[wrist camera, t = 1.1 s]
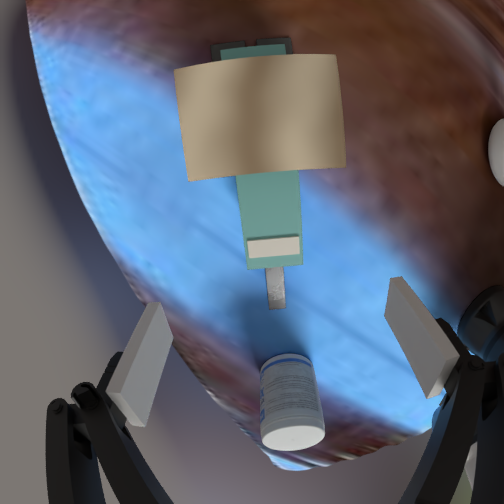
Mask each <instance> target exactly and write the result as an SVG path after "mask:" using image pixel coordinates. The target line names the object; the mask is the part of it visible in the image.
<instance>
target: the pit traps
mask: <svg viewBox="0 0 504 504" xmlns="http://www.w3.org/2000/svg"><path fill="white" fill-rule="evenodd" d="M256 41H257V46H261V45H276V44H285V50H286V55H290V54H293V51H292V44H291V38H269V39H256ZM210 46H211V55H212V62H217V61H222V60H221V52H220V50H225V49H232V48H240V47H245V41H237V42H229V43H222V44H216V45H210Z"/></svg>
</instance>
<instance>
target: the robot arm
mask: <svg viewBox="0 0 504 504" xmlns="http://www.w3.org/2000/svg"><path fill="white" fill-rule="evenodd" d="M384 317H385V319H386V320H387V322H388V324H389V326H390V327H391V329H392V331H393V333H394V335H395V337H396V339H397V340H398V342H399V344H400V346H401V348H402V350H403V352H404V354H405V356H406V358H407V360H408V361H409V363H410V365H411V367H412V369H413V371H414V373H415V375H416V378H417V380H418V382H419V384H420V386H421V388H422V390H423V392H424V394H425V396H426V399H429V398H431V397H434V396H437V395H440V393H441V391H442V389H443V387H444V388H445V390H446V392H447V393H446V394H445V396H444V398H443V399H442V401H441V403H440V404H439V405H440V407H438V408H437V409H436V410H435V412H434V414H433V418H432V430H433V432H432V434H431V437H430V439H429V442H428V445H427V447H426V449H425V451H424V454H423V456H422V458H421V460H420V462H419V465H418V467H417V469H416V471H415V473H414V475H413V477H412V479H411V481H410V483H409V485H408V487H407V489H406V490H405V492H404V494H403V496H402V497H401V499H400V501H399V503H398V504H450V502H451V499H452V497H453V495H454V492H455V490H456V488H457V485H458V482H459V480H460V477H461V475H462V472H463V469H464V467H465V470H466V472H467V476H468V479H469V481H470V484H471V487H472V497H471V503H470V504H504V288H503V287H502V286H492V287H490V288H488V289H487V290H485V291H484V292H482V293H481V294H480V295H479V296H478V297H477V298H476V299H475V300H474V301H473V302H472V304H471V305H470V306H469V308H468V309H467V310H466V312H465V314H464V315H463V317H462V319H461V322H460V324H459V327H458V336H457V334H456V333H455V332H454V331H453V329H452V327H451V326H450V325H449V323H447V322H446V321H445V320H443V319H442V318H439V319H434V318H433V316H432V315H431V314H430V312H429V311H428V310H427V308H426V307H425V306H424V304H423V303H422V302H421V300H420V299H419V298H418V296H417V295H416V294H415V293H414V291H413V290H412V289H411V287H410V286H409V285H408V284H407V282H406V281H405V280H404V279H403V277H402V276H401V277H394V278H390V284H389V290H388V297H387V303H386V309H385V314H384ZM172 340H173V336H172V333H171V330H170V328H169V325H168V322H167V319H166V317H165V314H164V311H163V308H162V305H161V303H160V302H151V303H148V305H147V307H146V308H145V311H144V313H143V314H142V316H141V318H140V320H139V322H138V324H137V326H136V328H135V330H134V332H133V334H132V336H131V338H130V340H129V342H128V344H127V346H126V348H125V350H124V352H117V353H116V354H115V355H114V356H113V357H112V358H111V359H110V361H109V363H108V366H107V367H106V369H105V373H103V375H102V377H101V380H100V382H99V384H98V386H97V388H95V387H94V386H93V384H91V383H89V382H83V383H80V384H78V385H77V386H75V388H74V389H73V390H72V393H71V398H72V400H73V401H74V402H75V403H76V404H68V403H67V402H66V401H65V400H64V399H62V398H57V399H55V400H53V401H52V402H51V403H50V404H49V405H48V408H47V420H46V477H47V490H48V499H49V504H106V502H105V498H104V493H103V489H102V484H101V478H100V473H99V468H98V461H97V457H98V459H99V462H100V464H101V466H102V468H103V470H104V473H105V475H106V477H107V479H108V481H109V483H110V485H111V487H112V489H113V491H114V493H115V495H116V497H117V499H118V501H119V503H120V504H174V503H173V502H172V500H171V499H170V498H169V496H168V495H167V493H166V492H165V490H164V489H163V487H162V486H161V485H160V483H159V482H158V480H157V479H156V477H155V475H154V474H153V472H152V471H151V469H150V468H149V466H148V464H147V463H146V461H145V459H144V458H143V456H142V454H141V452H140V451H139V449H138V447H137V445H136V444H135V442H134V440H133V438H132V436H131V434H130V432H129V431H128V429H127V427H126V426H125V422H126V419H127V420H128V421H129V422H130V423H131V425H135V426H142V427H146V423H147V420H148V417H149V413H150V410H151V406H152V403H153V400H154V396H155V393H156V390H157V387H158V383H159V380H160V377H161V374H162V371H163V368H164V364H165V361H166V358H167V355H168V352H169V349H170V346H171V343H172ZM468 350H469V351H470V352H472V353H473V354H475V355H471V354H470V353H469V351H468Z"/></svg>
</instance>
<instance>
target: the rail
mask: <svg viewBox="0 0 504 504" xmlns="http://www.w3.org/2000/svg"><path fill="white" fill-rule="evenodd" d="M265 269H266V280H267V290H268V300H269V310H273V309H284V308H286V305H285V287H284V271H283V267H273V268H265Z"/></svg>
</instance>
